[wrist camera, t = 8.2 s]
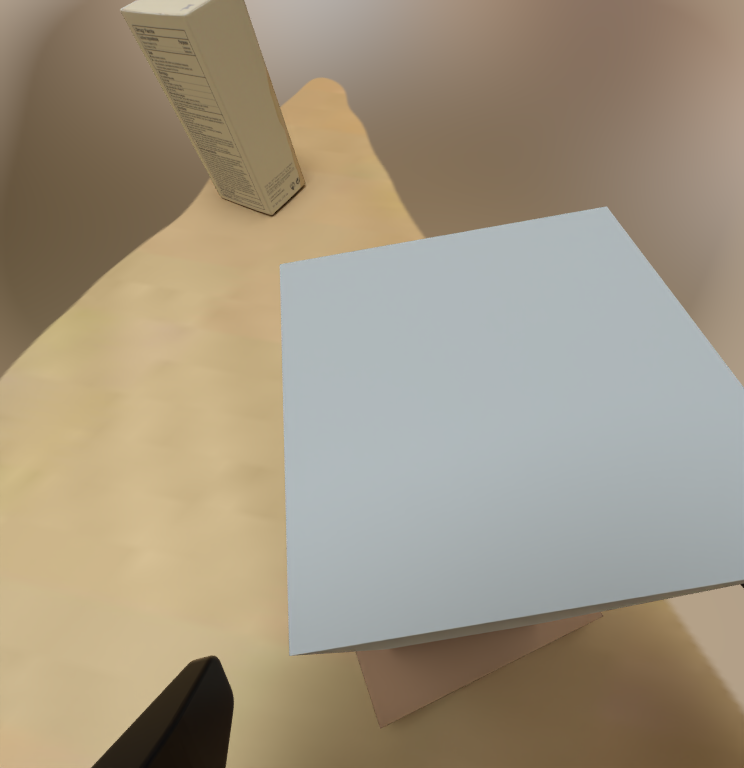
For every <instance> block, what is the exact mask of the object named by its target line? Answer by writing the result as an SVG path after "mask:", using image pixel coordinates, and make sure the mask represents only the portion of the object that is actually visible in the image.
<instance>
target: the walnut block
mask: <svg viewBox="0 0 744 768" xmlns="http://www.w3.org/2000/svg"><path fill="white" fill-rule="evenodd" d="M601 617H603V615H602V613H601V612H596V613H591V614H586V615H581V616H576V617H571V618H566V619H561V620H556V621H551V622H546V623H540V624H535V625H529V626H523V627H517V628H511V629H505V630H499V631H493V632H487V633H481V634H475V635H469V636H463V637H457V638H451V639H445V640H439V641H433V642H427V643H421V644H415V645H410V646H404V647H398V648H392V649H383V650H368V651H356V654H357V657H358V661H359V664H360V667H361V670H362V673H363V676H364V679H365V682H366V686H367V689H368V692H369V695H370V698H371V701H372V704H373V707H374V711H375V714H376V717H377V720H378V723H379V726H380V728H382V727H384V726H386V725H388V724H390V723H392V722H394V721H396V720H398V719H400V718H402V717H404V716H406V715H408V714H410V713H412V712H414V711H416V710H418V709H420V708H422V707H424V706H426V705H428V704H430V703H432V702H434V701H436V700H438V699H440V698H442V697H444V696H446V695H448V694H450V693H452V692H454V691H456V690H458V689H460V688H462V687H464V686H466V685H468V684H470V683H472V682H474V681H476V680H478V679H480V678H482V677H484V676H486V675H488V674H490V673H492V672H494V671H495V670H497V669H499V668H501V667H503V666H505V665H507V664H509V663H511V662H513V661H515V660H517V659H519V658H521V657H523V656H525V655H527V654H529V653H531V652H533V651H535V650H537V649H539V648H541V647H543V646H545V645H547V644H549V643H551V642H553V641H555V640H557V639H559V638H561V637H563V636H565V635H567V634H569V633H571V632H573V631H575V630H577V629H579V628H581V627H583V626H585V625H587V624H589V623H591V622H593V621H595V620H597V619H599V618H601Z"/></svg>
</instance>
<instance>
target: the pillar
mask: <svg viewBox="0 0 744 768" xmlns="http://www.w3.org/2000/svg"><path fill="white" fill-rule="evenodd" d="M280 290H281V331H282V372H283V412H284V453H285V494H286V535H287V575H288V616H289V656H295V655H310V654H324V653H339V652H354V651H368V650H383V649H392V648H398V647H404V646H410V645H415V644H421V643H427V642H433V641H439V640H445V639H451V638H457V637H463V636H469V635H475V634H481V633H487V632H493V631H499V630H505V629H511V628H517V627H523V626H529V625H535V624H540V623H546V622H551V621H556V620H561V619H566V618H571V617H576V616H581V615H586V614H591V613H596V612H602V611H607V610H612V609H617V608H622V607H627V606H632V605H637V604H642V603H647V602H652V601H657V600H663V599H668V598H673V597H678V596H683V595H688V594H693V593H698V592H703V591H708V590H713V589H718V588H723V587H728V586H734V585H739V584H744V387H743V386H742V385H741V383H740V382H739V381H738V379H737V378H736V377H735V375H734V374H733V373H732V371H731V370H730V369H729V368H728V366H727V365H726V364H725V362H724V361H723V360H722V358H721V357H720V356H719V354H718V353H717V352H716V350H715V349H714V348H713V346H712V345H711V344H710V343H709V341H708V340H707V339H706V337H705V336H704V335H703V333H702V332H701V331H700V329H699V328H698V327H697V325H696V324H695V323H694V321H693V320H692V319H691V317H690V316H689V315H688V313H687V312H686V311H685V309H684V308H683V307H682V305H681V304H680V303H679V301H678V300H677V299H676V298H675V296H674V295H673V294H672V292H671V291H670V290H669V288H668V287H667V286H666V284H665V283H664V282H663V280H662V279H661V278H660V276H659V275H658V274H657V272H656V271H655V270H654V268H653V267H652V266H651V265H650V263H649V262H648V261H647V259H646V258H645V257H644V255H643V254H642V253H641V251H640V250H639V249H638V247H637V246H636V245H635V244H634V242H633V241H632V239H631V238H630V237H629V236H628V234H627V233H626V231H625V230H624V229H623V228H622V226H621V225H620V224H619V222H618V221H617V220H616V218H615V217H614V216H613V215H612V213H611V212H610V210H609V209H608V208H607V207H602V208H596V209H590V210H585V211H579V212H574V213H569V214H562V215H557V216H551V217H545V218H539V219H534V220H528V221H523V222H517V223H511V224H506V225H500V226H494V227H489V228H483V229H478V230H472V231H466V232H461V233H455V234H449V235H444V236H438V237H432V238H426V239H421V240H415V241H410V242H404V243H398V244H393V245H387V246H381V247H376V248H370V249H364V250H359V251H353V252H347V253H342V254H336V255H331V256H325V257H319V258H314V259H308V260H302V261H297V262H291V263H285V264H280Z"/></svg>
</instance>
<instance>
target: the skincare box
mask: <svg viewBox="0 0 744 768" xmlns="http://www.w3.org/2000/svg"><path fill="white" fill-rule="evenodd" d="M120 11H121V13H122V15H123V17H124V19H125V20H126V22H127V24H128V26H129V28H130V29H131V31H132V33H133V35H134V37H135V39H136V41H137V43H138V44H139V46H140V48H141V50H142V52H143V54H144V55H145V57H146V59H147V61H148V63H149V65H150V67H151V68H152V70H153V72H154V74H155V76H156V78H157V80H158V81H159V83H160V85H161V87H162V89H163V91H164V93H165V94H166V96H167V98H168V100H169V102H170V104H171V105H172V107H173V109H174V111H175V113H176V115H177V117H178V118H179V120H180V122H181V124H182V126H183V128H184V130H185V131H186V133H187V135H188V137H189V139H190V141H191V143H192V144H193V146H194V148H195V150H196V152H197V154H198V155H199V157H200V159H201V161H202V163H203V164H204V167H205V168H206V170H207V172H208V174H209V176H210V178H211V180H212V181H213V183H214V185H215V187H216V189H217V191H218V193H219V194H220V196H221V197H222V198H224V199H227V200H229V201H232V202H235V203H237V204H240V205H243V206H246V207H248V208H251V209H254V210H256V211H260V212H263V213H266V214H269V215H273V214H274V213H275V212H276V211H277V210H278V209H279V208H280V207H281V206H282V205H283V204H284V203H286V202H287V201H288V200H289V199H290V198H291V197H292V196H293V195H294V194H295V193H296V192H297V191H298V190H299V189H300V188H301V187H302V186H303V185H304V184H305V181H304V178H303V175H302V172H301V169H300V166H299V163H298V160H297V157H296V154H295V151H294V148H293V145H292V142H291V139H290V136H289V133H288V130H287V127H286V124H285V121H284V118H283V115H282V112H281V109H280V106H279V103H278V100H277V98H276V94H275V91H274V89H273V86H272V83H271V80H270V77H269V73H268V71H267V68H266V65H265V62H264V59H263V56H262V53H261V50H260V47H259V44H258V41H257V38H256V35H255V32H254V29H253V26H252V23H251V20H250V17H249V14H248V11H247V8H246V5H245V2H244V0H136V1H134V2H133V3H131V4H129V5H127V6H125V7H123V8H121V9H120Z"/></svg>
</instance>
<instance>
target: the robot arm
mask: <svg viewBox="0 0 744 768" xmlns="http://www.w3.org/2000/svg"><path fill="white" fill-rule="evenodd" d="M740 585H741V586H742V587H743V588H744V584H740ZM233 708H234V699H233V692H232V689H231V687H230V684H229V682H228V679H227V677H226V675H225V672H224V670H223V667H222V665H221V662H220V660H219V659H218V658H217V657H216V656H208V657H204V658H200V659H196V660H193V661H192V662H190V663H189V664H188V665H187V666H186V667H185V668H184V669H183V670H182V671H181V672H180V673H179V675H178V676H177V677H176V678H175V679H174V680H173V681H172V682H171V683H170V684H169V685H168V686H167V687H166V688H165V690H164V691H163V692H162V693H161V694H160V695H159V696H158V697H157V698H156V699H155V700H154V701H153V702H152V703H151V704H150V706H149V707H148V708H147V709H146V710H145V711H144V712H143V713H142V714H141V715H140V716H139V717H138V718H137V719H136V721H135V722H134V723H133V724H132V725H131V726H130V727H129V728H128V729H127V730H126V731H125V732H124V733H123V734H122V735H121V737H120V738H119V739H118V740H117V741H116V742H115V743H114V744H113V745H112V746H111V747H110V748H109V749H108V750H107V751H106V753H105V754H104V755H103V756H102V757H101V758H100V759H99V760H98V761H97V762H96V763H95V764H94V765H93V766H92V768H226V761H227V753H228V746H229V738H230V731H231V723H232V716H233Z"/></svg>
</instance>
